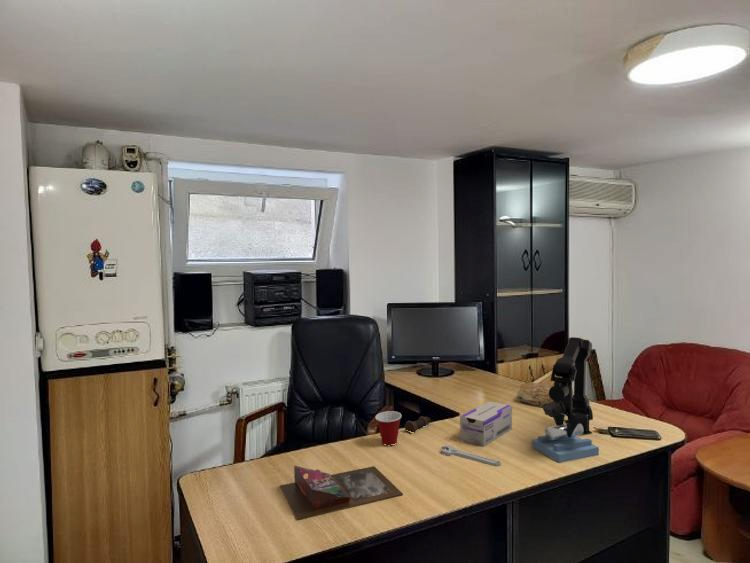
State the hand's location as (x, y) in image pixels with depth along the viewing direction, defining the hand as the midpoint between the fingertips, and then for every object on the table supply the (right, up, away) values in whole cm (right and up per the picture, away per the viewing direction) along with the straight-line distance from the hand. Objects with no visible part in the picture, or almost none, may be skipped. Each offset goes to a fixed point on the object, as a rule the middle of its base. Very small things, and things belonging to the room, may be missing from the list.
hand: (564, 434), depth 193 cm
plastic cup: (-67, -8, +12) cm, 69 cm away
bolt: (-53, -7, +29) cm, 61 cm away
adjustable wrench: (-38, -8, -4) cm, 39 cm away
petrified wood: (+10, -3, +60) cm, 61 cm away
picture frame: (-85, -11, -28) cm, 90 cm away
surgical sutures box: (-26, -7, +19) cm, 33 cm away
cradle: (0, -7, 0) cm, 7 cm away
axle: (0, -1, 0) cm, 1 cm away
